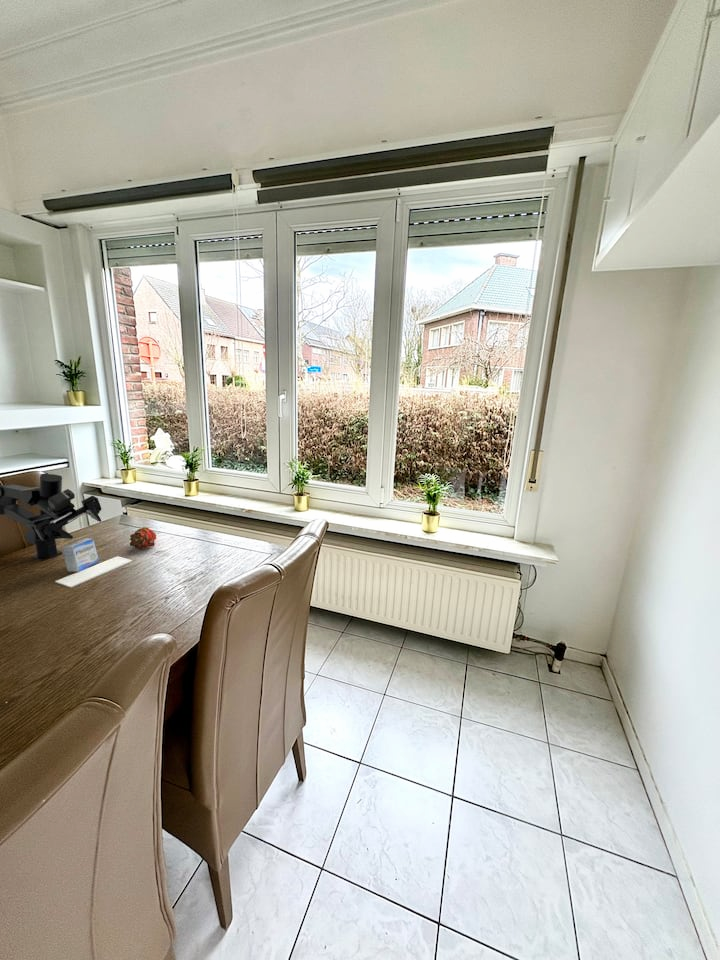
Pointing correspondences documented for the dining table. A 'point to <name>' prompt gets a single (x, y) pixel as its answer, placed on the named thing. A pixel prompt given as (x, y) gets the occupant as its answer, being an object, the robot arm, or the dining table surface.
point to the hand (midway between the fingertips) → (86, 528)
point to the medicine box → (80, 555)
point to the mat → (93, 572)
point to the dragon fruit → (143, 538)
